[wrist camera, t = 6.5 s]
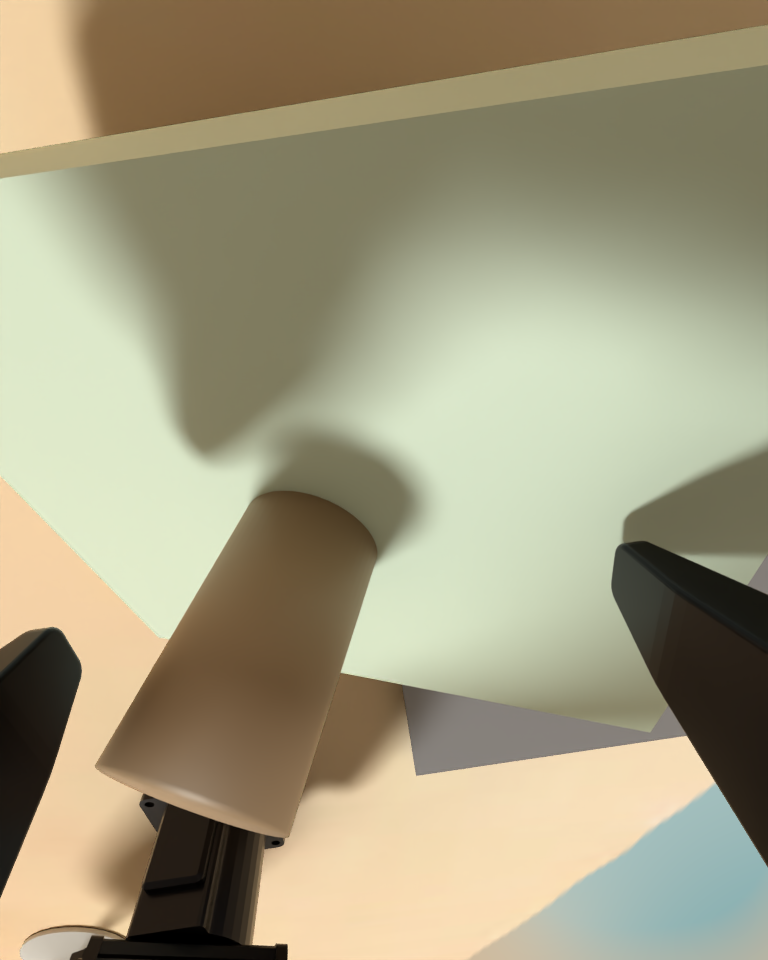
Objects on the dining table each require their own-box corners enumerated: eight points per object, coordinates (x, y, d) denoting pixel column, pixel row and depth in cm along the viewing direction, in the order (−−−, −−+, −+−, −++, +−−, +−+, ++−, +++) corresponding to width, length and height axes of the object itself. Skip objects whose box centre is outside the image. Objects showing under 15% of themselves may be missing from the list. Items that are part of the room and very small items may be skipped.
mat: (720, 711, 26) (732, 728, 25) (413, 757, 26) (416, 775, 25) (797, 471, 19) (819, 482, 18) (378, 531, 19) (380, 546, 18)
